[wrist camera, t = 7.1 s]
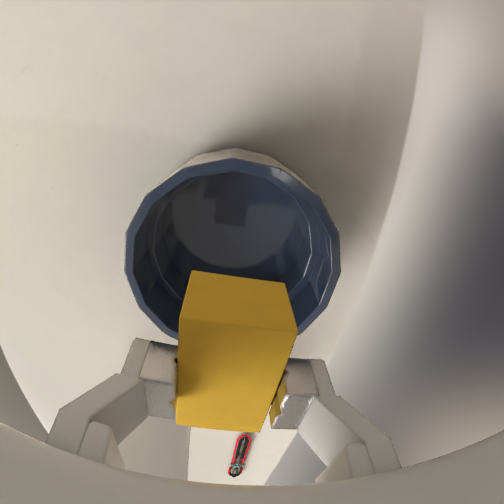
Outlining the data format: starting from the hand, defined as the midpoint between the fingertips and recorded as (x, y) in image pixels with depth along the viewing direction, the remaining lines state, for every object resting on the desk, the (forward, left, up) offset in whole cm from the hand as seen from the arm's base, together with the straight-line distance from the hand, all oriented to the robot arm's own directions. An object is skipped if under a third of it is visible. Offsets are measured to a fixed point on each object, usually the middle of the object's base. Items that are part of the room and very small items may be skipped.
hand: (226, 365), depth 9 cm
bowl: (0, 0, -11) cm, 11 cm away
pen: (+5, +30, -11) cm, 32 cm away
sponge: (0, 0, -2) cm, 2 cm away
